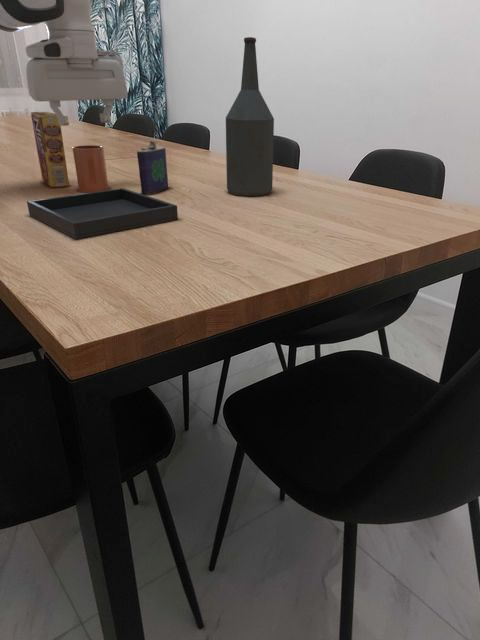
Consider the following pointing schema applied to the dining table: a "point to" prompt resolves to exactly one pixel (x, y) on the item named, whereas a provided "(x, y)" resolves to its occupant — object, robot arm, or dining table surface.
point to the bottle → (249, 134)
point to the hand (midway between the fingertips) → (85, 124)
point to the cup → (90, 168)
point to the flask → (152, 169)
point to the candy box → (50, 149)
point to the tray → (101, 212)
